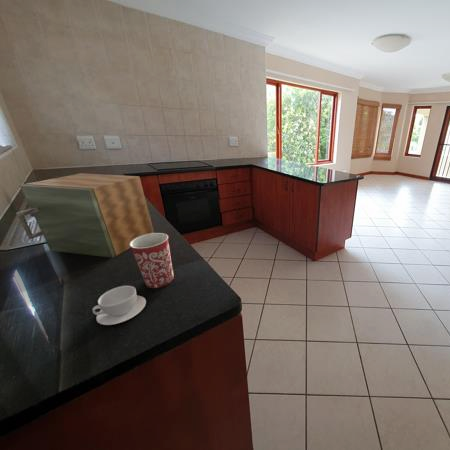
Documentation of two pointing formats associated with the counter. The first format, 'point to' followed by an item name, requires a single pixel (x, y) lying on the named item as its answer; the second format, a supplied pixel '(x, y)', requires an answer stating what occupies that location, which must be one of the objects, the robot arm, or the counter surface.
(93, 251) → the door
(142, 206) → the cupboard
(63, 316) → the counter surface
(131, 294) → the teacup
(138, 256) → the mug
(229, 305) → the counter surface
